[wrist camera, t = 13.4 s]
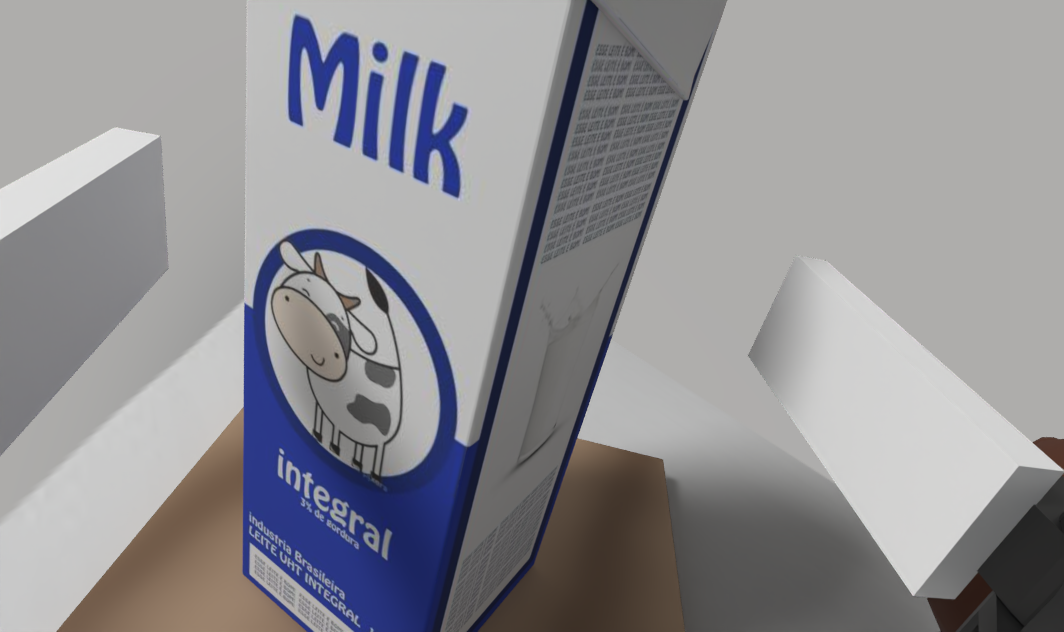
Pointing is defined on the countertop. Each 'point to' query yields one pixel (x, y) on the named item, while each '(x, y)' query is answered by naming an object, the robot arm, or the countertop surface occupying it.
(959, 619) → the ice cream bowl
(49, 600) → the countertop surface
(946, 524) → the robot arm
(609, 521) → the walnut board
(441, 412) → the milk carton
